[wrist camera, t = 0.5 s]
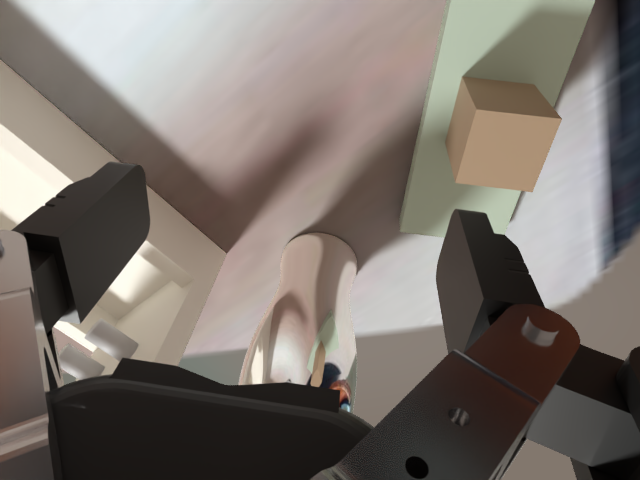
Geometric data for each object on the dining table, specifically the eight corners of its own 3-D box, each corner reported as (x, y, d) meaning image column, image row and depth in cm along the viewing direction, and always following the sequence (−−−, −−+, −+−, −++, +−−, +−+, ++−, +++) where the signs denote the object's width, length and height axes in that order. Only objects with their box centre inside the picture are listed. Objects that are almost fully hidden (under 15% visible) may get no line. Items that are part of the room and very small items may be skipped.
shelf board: (462, -79, 24) (487, -71, 18) (603, -66, 23) (673, -53, 18) (399, 216, 34) (402, 278, 29) (495, 227, 34) (517, 293, 28)
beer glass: (264, 234, 36) (204, 403, 24) (351, 220, 34) (334, 393, 22) (291, 299, 40) (251, 472, 28) (371, 289, 38) (365, 469, 26)
